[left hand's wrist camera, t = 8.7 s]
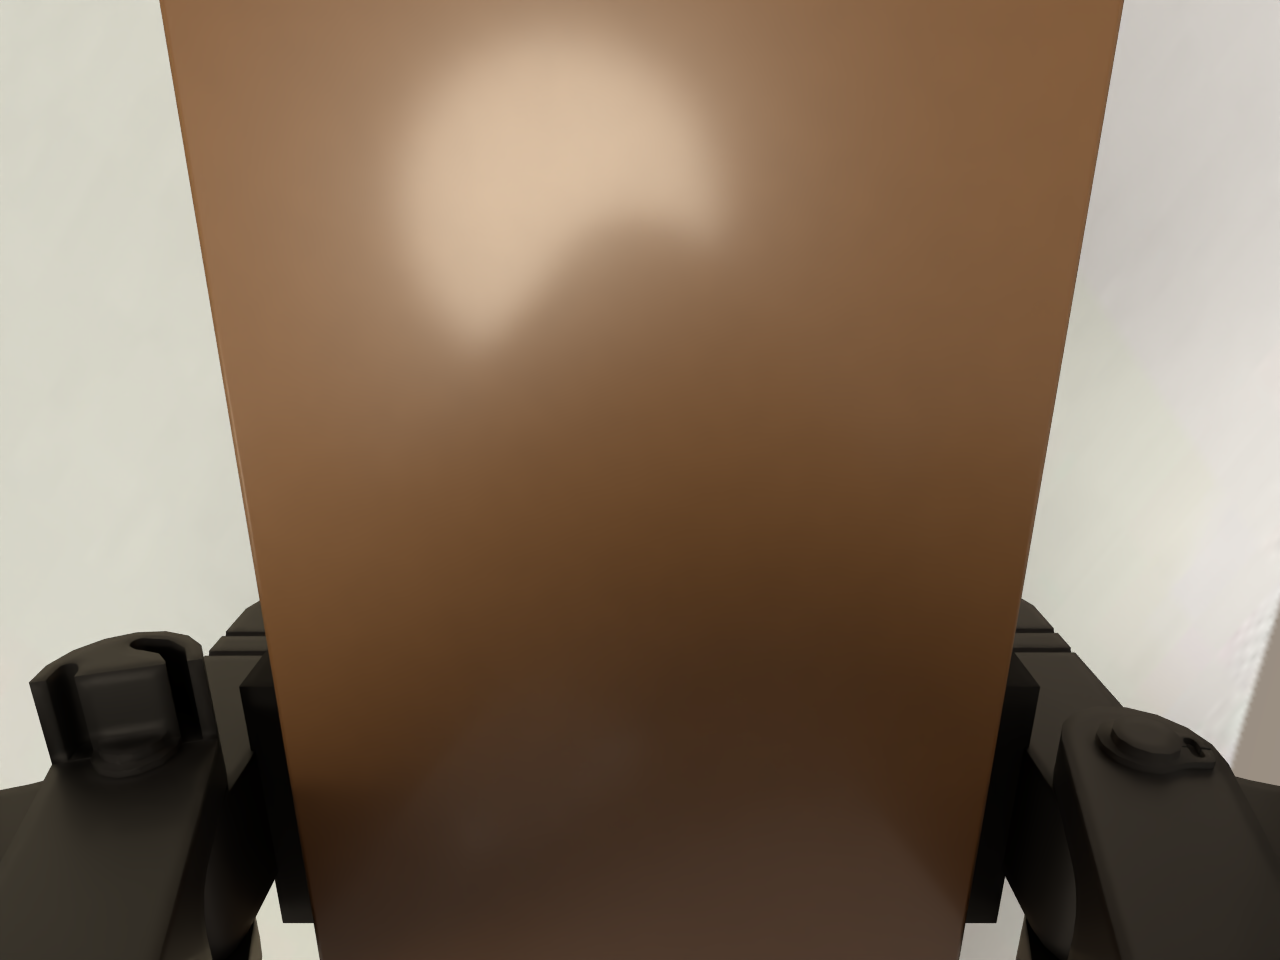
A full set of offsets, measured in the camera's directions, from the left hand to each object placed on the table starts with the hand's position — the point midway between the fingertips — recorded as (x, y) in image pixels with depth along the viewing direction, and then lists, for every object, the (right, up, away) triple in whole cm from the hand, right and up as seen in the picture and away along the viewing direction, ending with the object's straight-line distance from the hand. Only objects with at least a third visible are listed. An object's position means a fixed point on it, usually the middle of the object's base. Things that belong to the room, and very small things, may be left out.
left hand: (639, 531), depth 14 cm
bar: (0, +9, -3) cm, 10 cm away
